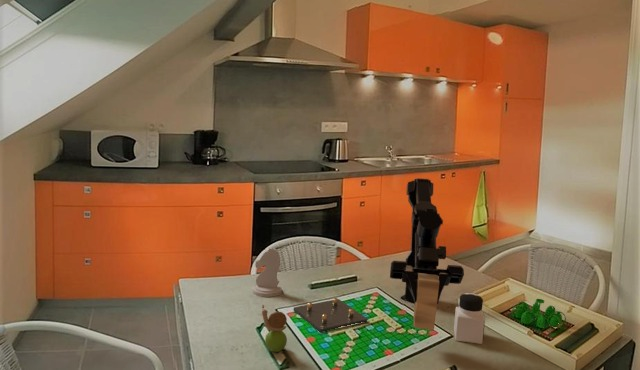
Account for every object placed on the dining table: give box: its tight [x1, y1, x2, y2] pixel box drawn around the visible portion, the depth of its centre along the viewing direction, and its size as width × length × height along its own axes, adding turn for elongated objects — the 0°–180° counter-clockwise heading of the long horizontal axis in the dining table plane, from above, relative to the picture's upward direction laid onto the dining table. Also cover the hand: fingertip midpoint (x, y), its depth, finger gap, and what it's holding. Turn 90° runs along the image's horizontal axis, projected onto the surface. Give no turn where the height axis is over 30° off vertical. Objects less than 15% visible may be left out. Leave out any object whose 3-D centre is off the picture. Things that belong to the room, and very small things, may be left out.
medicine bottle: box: [453, 292, 486, 345], centre depth 133 cm, size 7×7×12 cm
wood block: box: [412, 273, 439, 331], centre depth 125 cm, size 5×5×13 cm
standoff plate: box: [293, 297, 368, 333], centre depth 143 cm, size 16×16×3 cm
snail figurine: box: [261, 304, 288, 353], centre depth 121 cm, size 5×6×12 cm
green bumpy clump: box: [511, 298, 567, 329], centre depth 145 cm, size 15×15×7 cm
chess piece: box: [251, 247, 283, 298], centre depth 159 cm, size 10×10×15 cm
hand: (426, 302), depth 123 cm, fingers closed on wood block, 5 cm apart
